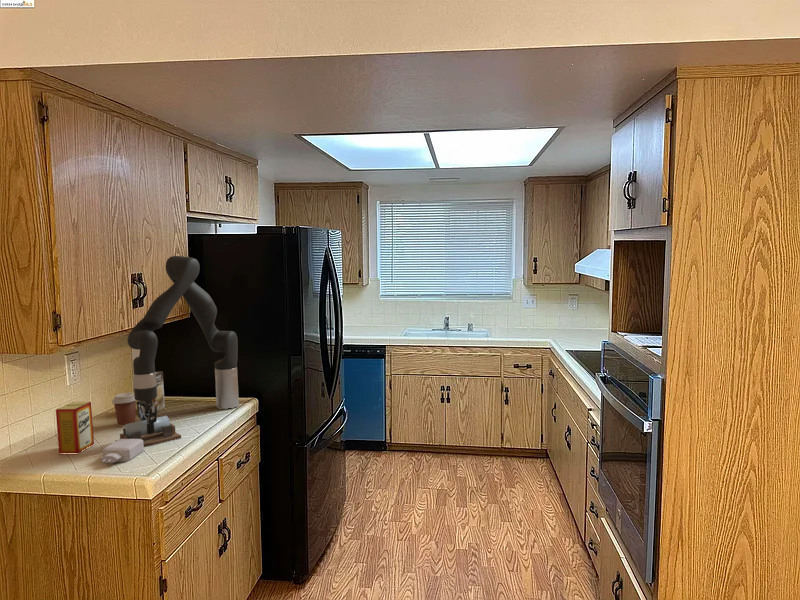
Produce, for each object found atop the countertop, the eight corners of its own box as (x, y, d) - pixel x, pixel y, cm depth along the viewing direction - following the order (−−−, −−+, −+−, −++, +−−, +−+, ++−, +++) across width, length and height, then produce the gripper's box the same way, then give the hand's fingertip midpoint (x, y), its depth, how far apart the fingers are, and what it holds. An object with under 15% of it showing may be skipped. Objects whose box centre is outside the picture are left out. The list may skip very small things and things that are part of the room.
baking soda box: (77, 454, 194) (74, 408, 193) (59, 454, 194) (55, 408, 193) (94, 444, 204) (90, 400, 202) (76, 444, 204) (73, 400, 202)
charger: (91, 469, 181) (118, 452, 196) (119, 469, 181) (144, 452, 195) (90, 454, 181) (117, 438, 196) (118, 454, 180) (143, 438, 195)
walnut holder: (115, 443, 205) (114, 429, 204) (168, 430, 217) (167, 418, 217) (126, 451, 196) (125, 437, 195) (181, 438, 209) (180, 424, 208)
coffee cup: (141, 420, 233) (139, 391, 231) (136, 426, 224) (134, 396, 223) (116, 422, 230) (114, 392, 229) (111, 429, 222) (109, 398, 220)
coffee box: (155, 413, 242) (153, 375, 241) (140, 413, 242) (138, 376, 241) (165, 407, 251) (163, 371, 250) (151, 407, 251) (148, 371, 250)
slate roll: (129, 439, 200) (129, 426, 199) (125, 436, 203) (124, 422, 203) (170, 430, 209) (169, 417, 209) (164, 427, 213) (164, 414, 212)
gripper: (163, 386, 202) (166, 433, 204) (148, 380, 213) (151, 425, 214) (141, 390, 197) (144, 438, 199) (127, 384, 207) (130, 430, 209)
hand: (148, 431), depth 206 cm, fingers closed on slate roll, 5 cm apart
